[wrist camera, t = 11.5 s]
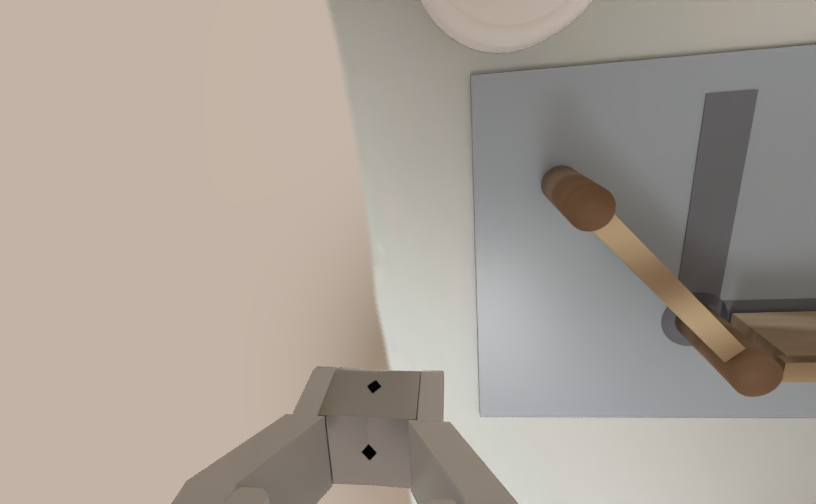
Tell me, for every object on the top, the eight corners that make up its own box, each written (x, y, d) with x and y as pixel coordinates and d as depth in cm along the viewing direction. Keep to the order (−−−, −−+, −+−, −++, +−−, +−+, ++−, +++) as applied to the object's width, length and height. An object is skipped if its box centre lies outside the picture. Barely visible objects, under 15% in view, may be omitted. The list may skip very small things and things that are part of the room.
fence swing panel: (695, 294, 27) (760, 347, 21) (665, 315, 28) (720, 372, 22) (562, 157, 25) (594, 176, 19) (533, 184, 26) (556, 210, 20)
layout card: (892, 415, 29) (898, 419, 29) (480, 414, 32) (480, 417, 32) (1039, 24, 21) (1050, 23, 21) (470, 75, 24) (470, 75, 24)
